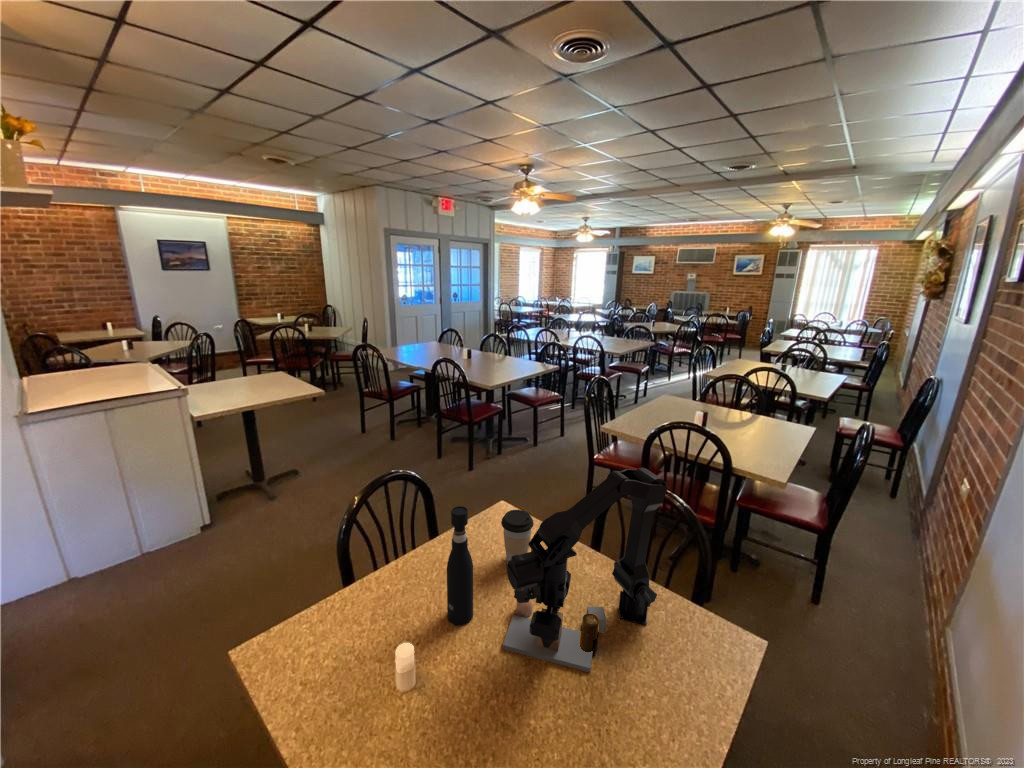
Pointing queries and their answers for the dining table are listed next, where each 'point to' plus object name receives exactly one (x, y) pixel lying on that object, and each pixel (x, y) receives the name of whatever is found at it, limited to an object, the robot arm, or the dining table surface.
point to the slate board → (527, 645)
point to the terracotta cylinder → (524, 609)
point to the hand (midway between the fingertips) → (550, 630)
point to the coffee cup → (516, 532)
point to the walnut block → (556, 643)
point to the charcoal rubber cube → (600, 614)
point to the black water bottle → (459, 572)
